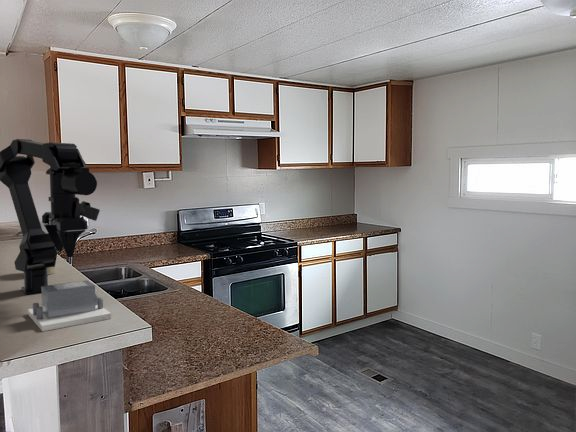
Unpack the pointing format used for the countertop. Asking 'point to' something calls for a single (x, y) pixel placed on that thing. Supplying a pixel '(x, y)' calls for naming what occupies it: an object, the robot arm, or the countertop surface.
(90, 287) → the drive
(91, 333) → the countertop surface
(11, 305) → the countertop surface
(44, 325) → the tray
